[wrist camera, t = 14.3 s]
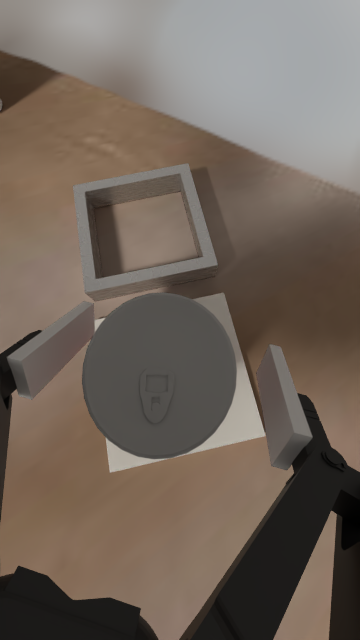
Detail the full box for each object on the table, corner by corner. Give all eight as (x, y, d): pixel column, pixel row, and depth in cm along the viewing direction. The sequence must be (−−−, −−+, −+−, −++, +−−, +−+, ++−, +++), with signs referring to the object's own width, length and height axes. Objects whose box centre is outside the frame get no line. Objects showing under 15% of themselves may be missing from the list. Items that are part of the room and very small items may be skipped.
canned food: (141, 428, 20) (91, 482, 9) (125, 343, 22) (71, 309, 12) (222, 407, 20) (262, 436, 10) (200, 325, 22) (212, 276, 12)
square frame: (82, 202, 28) (73, 185, 25) (187, 181, 28) (188, 163, 26) (95, 301, 24) (84, 292, 22) (214, 276, 25) (218, 264, 22)
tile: (94, 322, 23) (92, 320, 23) (222, 294, 24) (223, 292, 23) (112, 469, 20) (109, 472, 19) (263, 434, 20) (265, 435, 20)
